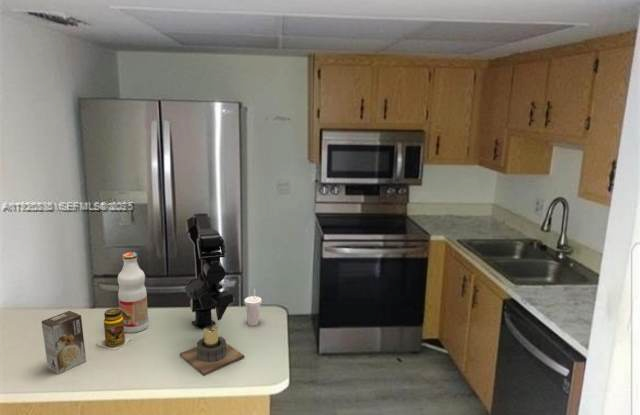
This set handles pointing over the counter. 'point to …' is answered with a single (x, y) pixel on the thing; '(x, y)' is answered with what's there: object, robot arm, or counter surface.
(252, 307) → the smoothie
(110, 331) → the condiment
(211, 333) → the brass pin
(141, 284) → the fruit juice
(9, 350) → the counter surface
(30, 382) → the counter surface
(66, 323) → the coffee box
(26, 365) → the counter surface
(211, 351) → the ring socket
